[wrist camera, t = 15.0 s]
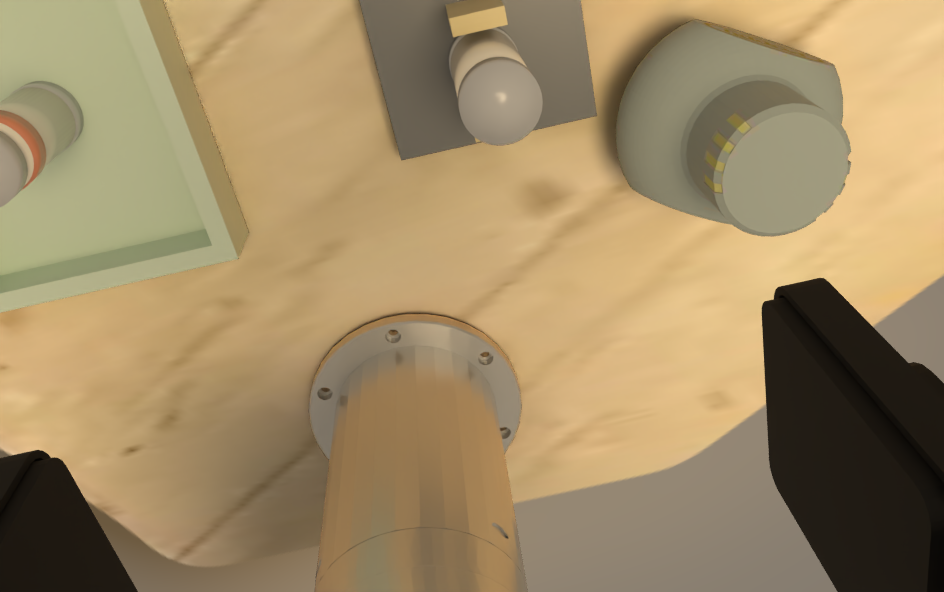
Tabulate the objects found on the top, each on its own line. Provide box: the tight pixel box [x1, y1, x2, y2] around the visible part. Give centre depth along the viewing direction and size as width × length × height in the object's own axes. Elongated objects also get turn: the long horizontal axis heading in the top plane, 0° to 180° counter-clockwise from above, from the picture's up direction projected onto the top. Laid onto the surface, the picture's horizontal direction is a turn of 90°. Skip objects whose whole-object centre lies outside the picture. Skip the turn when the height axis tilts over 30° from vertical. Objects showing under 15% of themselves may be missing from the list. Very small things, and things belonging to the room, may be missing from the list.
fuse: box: [448, 27, 543, 145], centre depth 37 cm, size 3×3×8 cm
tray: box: [0, 0, 249, 313], centre depth 40 cm, size 16×14×3 cm
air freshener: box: [616, 19, 851, 236], centre depth 39 cm, size 11×8×10 cm
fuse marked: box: [0, 81, 84, 207], centre depth 37 cm, size 3×3×8 cm
